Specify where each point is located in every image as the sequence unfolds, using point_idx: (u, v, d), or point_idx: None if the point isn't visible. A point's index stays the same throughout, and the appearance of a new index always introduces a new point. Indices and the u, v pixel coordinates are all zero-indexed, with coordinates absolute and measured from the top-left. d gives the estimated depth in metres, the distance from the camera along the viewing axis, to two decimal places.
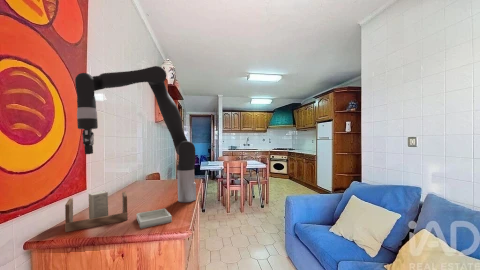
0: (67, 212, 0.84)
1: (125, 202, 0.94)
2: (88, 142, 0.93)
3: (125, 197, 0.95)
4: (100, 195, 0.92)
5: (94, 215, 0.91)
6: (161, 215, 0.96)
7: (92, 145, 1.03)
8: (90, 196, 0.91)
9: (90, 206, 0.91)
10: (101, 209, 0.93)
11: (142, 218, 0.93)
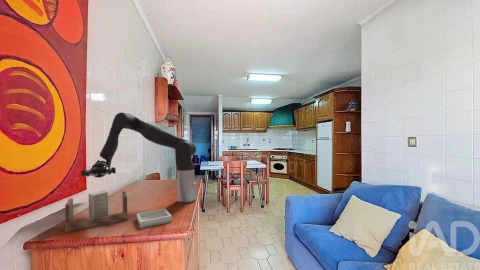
0: (67, 212, 0.84)
1: (125, 202, 0.94)
2: None
3: (125, 197, 0.95)
4: (100, 195, 0.92)
5: (94, 215, 0.91)
6: (161, 215, 0.96)
7: (109, 169, 1.09)
8: (90, 196, 0.91)
9: (90, 206, 0.91)
10: (101, 209, 0.93)
11: (142, 218, 0.93)
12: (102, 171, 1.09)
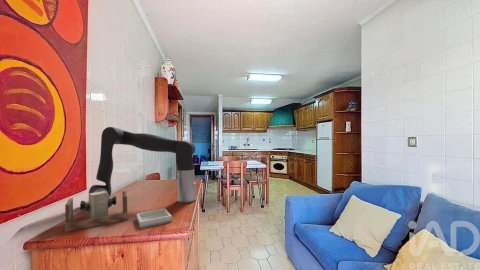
0: (67, 212, 0.84)
1: (125, 202, 0.94)
2: None
3: (125, 197, 0.95)
4: (100, 195, 0.92)
5: (94, 215, 0.91)
6: (161, 215, 0.96)
7: (109, 200, 0.97)
8: (90, 196, 0.91)
9: (90, 206, 0.91)
10: (101, 209, 0.93)
11: (142, 218, 0.93)
12: None
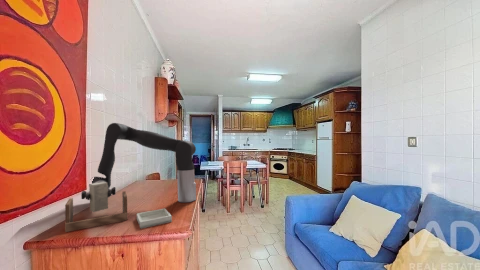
0: (67, 212, 0.84)
1: (125, 202, 0.94)
2: None
3: (125, 197, 0.95)
4: (100, 185, 0.98)
5: (95, 204, 0.96)
6: (161, 215, 0.96)
7: (109, 191, 1.02)
8: (91, 186, 0.96)
9: (91, 195, 0.96)
10: (101, 199, 0.98)
11: (142, 218, 0.93)
12: None
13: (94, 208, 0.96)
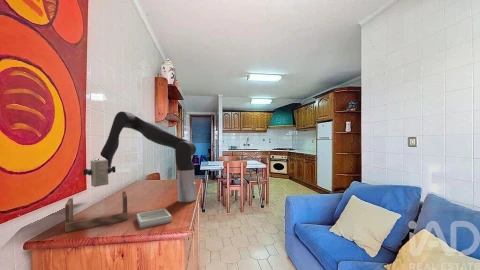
0: (67, 212, 0.84)
1: (125, 202, 0.94)
2: None
3: (125, 197, 0.95)
4: (101, 162, 1.03)
5: (96, 179, 1.02)
6: (161, 215, 0.96)
7: (109, 168, 1.08)
8: (92, 162, 1.02)
9: (92, 171, 1.02)
10: (102, 175, 1.04)
11: (142, 218, 0.93)
12: None
13: (95, 183, 1.02)
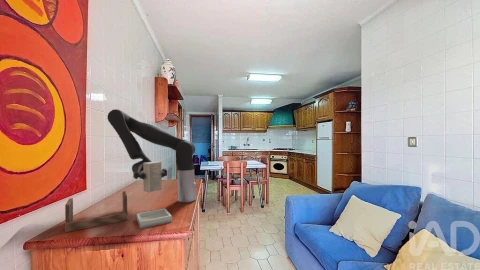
0: (67, 212, 0.84)
1: (125, 202, 0.94)
2: (135, 174, 0.92)
3: (125, 197, 0.95)
4: (155, 164, 0.91)
5: (150, 183, 0.90)
6: (161, 215, 0.96)
7: None
8: (146, 165, 0.90)
9: (146, 175, 0.90)
10: (156, 179, 0.92)
11: (142, 218, 0.93)
12: None
13: (149, 188, 0.89)
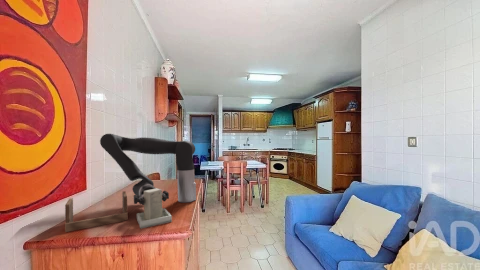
0: (67, 212, 0.84)
1: (125, 202, 0.94)
2: (134, 199, 0.92)
3: (125, 197, 0.95)
4: (155, 192, 0.91)
5: (150, 212, 0.90)
6: None
7: (163, 194, 0.97)
8: (146, 193, 0.90)
9: (147, 203, 0.90)
10: (156, 207, 0.92)
11: (142, 218, 0.93)
12: None
13: (149, 217, 0.89)
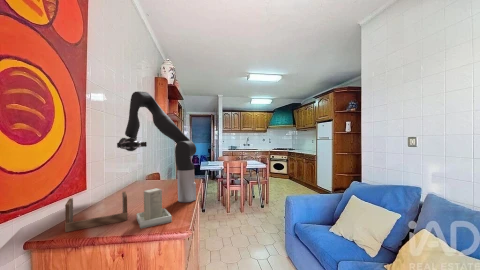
0: (67, 212, 0.84)
1: (125, 202, 0.94)
2: (117, 144, 1.13)
3: (125, 197, 0.95)
4: (155, 192, 0.91)
5: (150, 212, 0.90)
6: None
7: None
8: (146, 193, 0.90)
9: (147, 203, 0.90)
10: (156, 207, 0.92)
11: (142, 218, 0.93)
12: (135, 144, 1.18)
13: (149, 217, 0.89)
